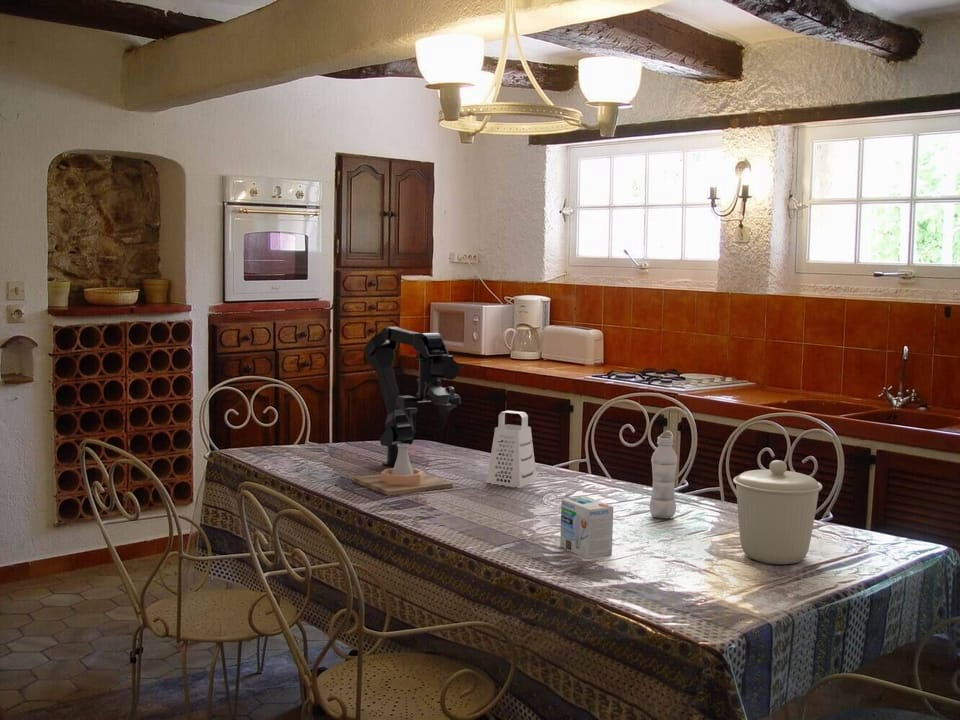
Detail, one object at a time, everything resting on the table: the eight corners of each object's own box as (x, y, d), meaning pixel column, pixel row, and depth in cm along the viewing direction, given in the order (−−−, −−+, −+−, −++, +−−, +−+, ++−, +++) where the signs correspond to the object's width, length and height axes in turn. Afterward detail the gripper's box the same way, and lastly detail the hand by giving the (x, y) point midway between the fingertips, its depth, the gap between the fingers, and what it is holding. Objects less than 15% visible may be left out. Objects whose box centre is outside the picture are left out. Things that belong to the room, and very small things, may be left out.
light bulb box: (558, 546, 221) (560, 498, 220) (584, 543, 224) (585, 495, 223) (587, 559, 211) (588, 509, 210) (613, 555, 215) (614, 506, 214)
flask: (415, 483, 275) (415, 447, 274) (388, 482, 275) (388, 446, 274) (416, 477, 283) (416, 442, 282) (390, 477, 283) (390, 442, 282)
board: (353, 481, 282) (353, 477, 281) (414, 474, 293) (414, 470, 293) (388, 496, 265) (388, 491, 265) (452, 487, 277) (452, 483, 277)
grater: (519, 488, 277) (521, 416, 275) (486, 483, 283) (487, 412, 281) (536, 481, 286) (538, 411, 284) (504, 476, 292) (505, 408, 290)
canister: (836, 567, 209) (841, 467, 207) (759, 573, 204) (764, 470, 202) (786, 543, 226) (790, 450, 224) (714, 549, 221) (718, 454, 219)
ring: (375, 478, 280) (375, 470, 280) (409, 474, 287) (409, 466, 286) (395, 486, 271) (395, 477, 271) (430, 481, 278) (430, 473, 277)
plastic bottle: (646, 519, 245) (649, 438, 243) (651, 513, 252) (654, 434, 250) (673, 522, 243) (676, 440, 241) (677, 516, 249) (680, 436, 248)
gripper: (414, 381, 279) (413, 436, 281) (471, 377, 290) (470, 431, 291) (395, 376, 289) (394, 430, 290) (450, 373, 299) (449, 425, 301)
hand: (427, 429), depth 293 cm, fingers open, 9 cm apart
